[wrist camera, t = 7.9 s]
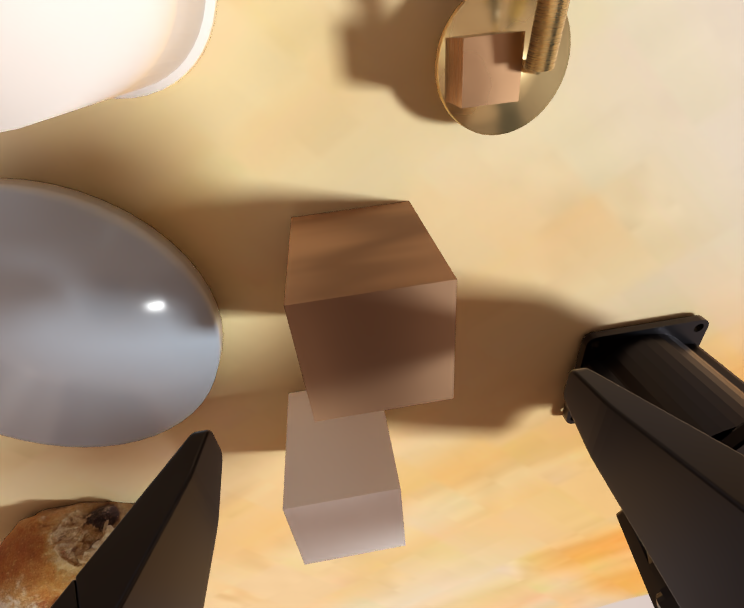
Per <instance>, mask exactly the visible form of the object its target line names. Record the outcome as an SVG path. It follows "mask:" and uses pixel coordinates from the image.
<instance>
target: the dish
mask: <svg viewBox="0 0 744 608" xmlns="http://www.w3.org/2000/svg"><path fill="white" fill-rule="evenodd" d="M222 349H223V327H222V319H221V316H220V313H219V309H218V306H217V303H216V301H215V299H214V297H213V294H212V292H211V290H210V288H209V287H208V285H207V283H206V282H205V280H204V279H203V277H202V276H201V274H200V273H199V271H198V270H197V269H196V268H195V267H194V265H193V264H192V263H191V262H190V261H189V259H188V258H187V257H186V256H185V255H184V254H183V253H182V252H181V251H180V250H179V249H178V248H177V247H176V246H175V245H174V244H173V243H171V242H170V241H169V240H168V239H167V238H165V237H164V236H163V235H161V234H160V233H159V232H158V231H156V230H155V229H154V228H152V227H151V226H149V225H148V224H146V223H145V222H143V221H141V220H140V219H138V218H137V217H135V216H133V215H132V214H130V213H128V212H126V211H124V210H122V209H120V208H118V207H116V206H114V205H112V204H110V203H108V202H106V201H103V200H101V199H98V198H96V197H93V196H90V195H88V194H85V193H82V192H80V191H76V190H72V189H69V188H65V187H61V186H58V185H54V184H49V183H43V182H37V181H31V180H23V179H5V178H0V434H1V435H4V436H8V437H12V438H16V439H20V440H24V441H29V442H35V443H40V444H46V445H56V446H65V447H102V446H111V445H120V444H125V443H130V442H135V441H139V440H142V439H145V438H149V437H152V436H155V435H157V434H159V433H162V432H164V431H166V430H168V429H170V428H172V427H173V426H175V425H177V424H179V423H180V422H182V421H183V420H184V419H186V418H187V417H188V416H189V415H191V414H192V413H193V412H194V411H195V410H196V409H197V408H198V407H199V406H200V405H201V404H202V402H203V401H204V399H205V398H206V396H207V395H208V393H209V392H210V389H211V387H212V385H213V382H214V380H215V377H216V373H217V369H218V365H219V362H220V358H221V353H222Z"/></svg>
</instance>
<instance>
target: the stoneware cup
mask: <svg viewBox="0 0 744 608" xmlns="http://www.w3.org/2000/svg"><path fill="white" fill-rule="evenodd" d="M217 2H218V0H0V132H4V131H9V130H14V129H19V128H22V127H25V126H28V125H32V124H35V123H38V122H41V121H44V120H47V119H50V118H53V117H56V116H59V115H62V114H65V113H68V112H71V111H74V110H77V109H80V108H83V107H86V106H90V105H93V104H96V103H99V102H102V101H105V100H108V99H111V98H117V99H121V98H136V97H141V96H146V95H149V94H152V93H155V92H157V91H160V90H163V89H165V88H167V87H169V86H171V85H173V84H175V83H176V82H178V81H179V80H180V79H182V78H183V77H184V76H185V75H187V74H188V73H189V72H190V71H191V69H192V68H193V67H194V66H195V65H196V64H197V62H198V61H199V59H200V58H201V56H202V55H203V53H204V51H205V49H206V47H207V45H208V42H209V40H210V38H211V34H212V31H213V27H214V24H215V18H216V12H217Z"/></svg>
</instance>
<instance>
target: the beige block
mask: <svg viewBox="0 0 744 608" xmlns="http://www.w3.org/2000/svg"><path fill="white" fill-rule="evenodd" d="M283 511H284V514H285V516H286V519H287V521H288V524H289V526H290V529H291V531H292V534H293V536H294V539H295V541H296V544H297V546H298V549H299V551H300V554H301V556H302V559H303V561H304V564H310V563H315V562H320V561H326V560H331V559H336V558H342V557H347V556H352V555H357V554H363V553H368V552H373V551H378V550H384V549H389V548H394V547H400V546H405V534H404V522H403V511H402V500H401V489H400V484H399V479H398V474H397V469H396V464H395V460H394V455H393V450H392V445H391V440H390V436H389V431H388V426H387V421H386V416H385V411H384V410H383V411H377V412H371V413H365V414H359V415H353V416H348V417H342V418H336V419H330V420H324V421H318V422H315V421H314V417H313V414H312V410H311V406H310V402H309V398H308V395H307V391H306V390H305V391H299V392H293V393H289V394H288V414H287V435H286V455H285V476H284V496H283Z"/></svg>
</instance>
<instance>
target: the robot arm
mask: <svg viewBox="0 0 744 608" xmlns="http://www.w3.org/2000/svg"><path fill="white" fill-rule="evenodd" d="M708 325H709V322H708V321H707V320H706V319H704V318H703V317H701V316H700V315H696V316H689V317H683V318H677V319H671V320H665V321H659V322H653V323H646V324H640V325H634V326H628V327H622V328H616V329H610V330H604V331H597V332H592V333H589V334H587V335H586V336H585V337H584V338H583V339H582V341H581V345H580V349H579V353H578V357H577V361H576V365H575V369H574V370H571V371H570V372H569V373H568V377H567V381H566V385H565V389H564V400H565V402H566V403H565V407H564V411H563V417H564V418H565V420H566V421H567V423H570V424H573V423H575V424H576V426H577V429H578V431H579V433H580V435H581V437H582V439H583V442H584V444H585V446H586V448H587V450H588V452H589V454H590V456H591V458H592V460H593V461H594V463H595V465H596V467H597V468H598V470H599V472H600V473H601V475H602V477H603V478H604V480H605V482H606V483H607V485H608V487H609V488H610V490H611V492H612V494H613V495H614V497H615V499H616V500H617V502H618V504H619V505H620V507H621V509H622V510H621V511H620V512H618V513H617V514H616V515H617V518H618V521H619V523H620V526H621V528H622V530H623V533H624V535H625V538H626V540H627V543H628V545H629V547H630V550H631V552H632V555H633V557H634V559H635V562H636V564H637V567H638V569H639V572H640V574H641V576H642V579H643V581H644V584H645V586H646V589H647V591H648V593H649V596H650V598H651V601H652V603H653V605H654V607H655V608H744V382H743V381H742V380H740V379H739V378H738V377H737V376H735V375H734V374H733V373H732V372H730V371H729V370H728V369H727V368H725V367H724V366H723V365H722V364H720V363H719V362H718V361H717V360H715V359H714V358H713V357H712V356H710V355H709V354H708V353H707V352H705V351H704V350H703V349H702V348H700V347H699V345H700V343H701V340H702V338H703V336H704V334H705V332H706V330H707V328H708ZM221 474H222V452H221V449H220V447H219V445H218V443H217V441H216V439H215V437H214V435H213V433H212V432H211V431H210V430H204V431H198V432H194V433H192V434H191V435H190V436H189V437H188V439H187V440H186V441H185V442H184V443H183V445H182V446H181V447H180V448H179V450H178V451H177V452H176V453H175V455H174V456H173V457H172V458H171V459H170V461H169V462H168V463H167V464H166V466H165V467H164V468H163V469H162V471H161V472H160V473H159V474H158V475H157V477H156V478H155V479H154V480H153V482H152V483H151V484H150V485H149V487H148V488H147V489H146V490H145V491H144V493H143V494H142V495H141V496H140V498H139V499H138V500H137V501H136V503H135V504H134V505H133V506H132V507H131V509H130V510H129V511H128V512H127V514H126V515H125V516H124V517H123V519H122V520H121V521H120V522H119V524H118V525H117V526H116V527H115V528H114V530H113V531H112V532H111V533H110V535H109V536H108V537H107V538H106V540H105V541H104V542H103V543H102V544H101V546H100V547H99V548H98V549H97V551H96V552H95V553H94V554H93V556H92V557H91V558H90V559H89V560H88V562H87V563H86V564H85V565H84V567H83V568H82V569H81V570H80V572H79V573H78V574H77V575H76V577H75V580H72V581H71V582H70V584H69V585H68V586H67V587H66V589H65V590H64V591H63V592H62V594H61V595H60V596H59V597H58V598H57V600H56V601H55V602H54V603H53V604H52V606H51V607H50V608H203V607H204V602H205V596H206V590H207V585H208V579H209V573H210V568H211V562H212V556H213V550H214V545H215V539H216V533H217V527H218V518H219V505H220V489H221Z"/></svg>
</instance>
